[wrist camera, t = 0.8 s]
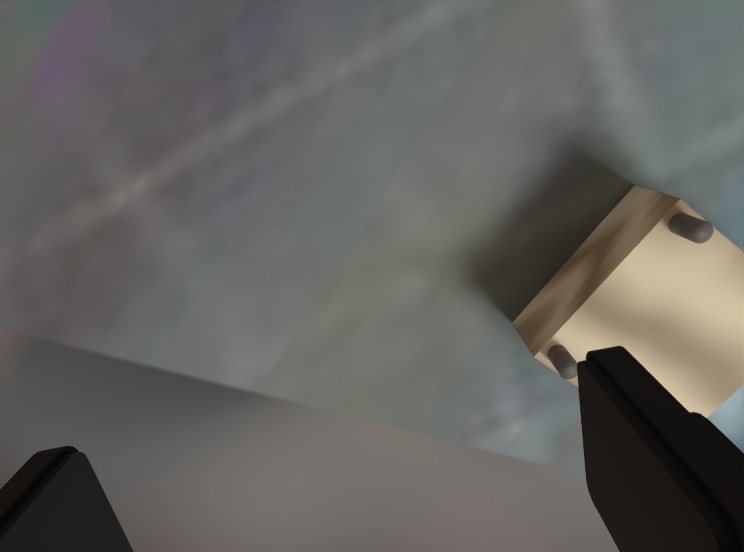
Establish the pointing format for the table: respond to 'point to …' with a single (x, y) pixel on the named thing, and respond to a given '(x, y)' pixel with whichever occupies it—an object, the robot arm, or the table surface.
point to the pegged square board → (648, 301)
